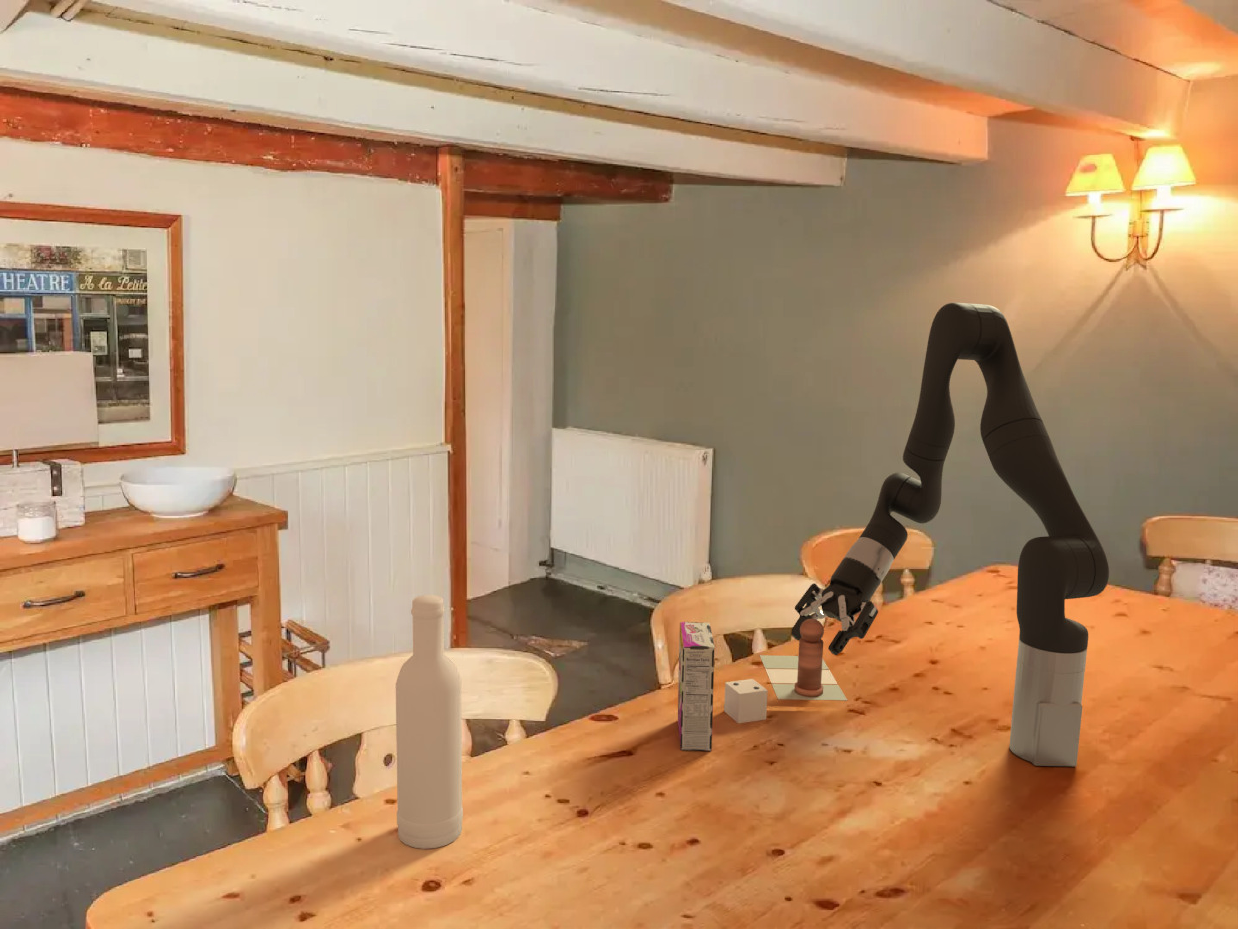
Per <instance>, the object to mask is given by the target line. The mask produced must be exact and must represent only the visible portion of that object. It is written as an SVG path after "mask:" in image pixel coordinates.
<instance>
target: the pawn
mask: <svg viewBox="0 0 1238 929" xmlns="http://www.w3.org/2000/svg"><path fill="white" fill-rule="evenodd" d="M800 634H801V636H802V638H800V639H799V641H798V655H797V656H798V669H797V670H798V676H797V682H796V683H795V688H794V691H795V693H797V694H799V695H801V696H805V697H818V696H821V695H822V694H823V685H824V684H821V677H822V670H823V669H822V659H823V660H824V658H823V657H824V656H823V654H824V641H823V639H822V638H823V636H824V634H825V628H824V625H823V624H822V622H821V621H820V620H819V619H817V620H816V619H807V620H805V621H804V622H803V623H802V624H801V626H800Z"/></svg>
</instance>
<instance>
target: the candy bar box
mask: <svg viewBox="0 0 1238 929" xmlns="http://www.w3.org/2000/svg"><path fill="white" fill-rule="evenodd" d="M678 638H679V640H678V642H679V643H678V685H677V688H678V690H677V703H678V704H677V724H678V725H677V726H678V734H679V744H680V745H679V746H680V750H681V751H684V752H685V751H686V752H689V751H690V752H692V751H693V752H694V751H695V752H712V748H713V744H712V743H713V718H714V717H713V716H714V713H713V712H714V685H715V684H714V679H715V678H714V676H715V667H714V666H715V642H714V637H713V633H712V628H711V624H710V622H697V621H696V622H695V621H694V622H693V621H691V622H690V621H682V622H679V636H678Z"/></svg>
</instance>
